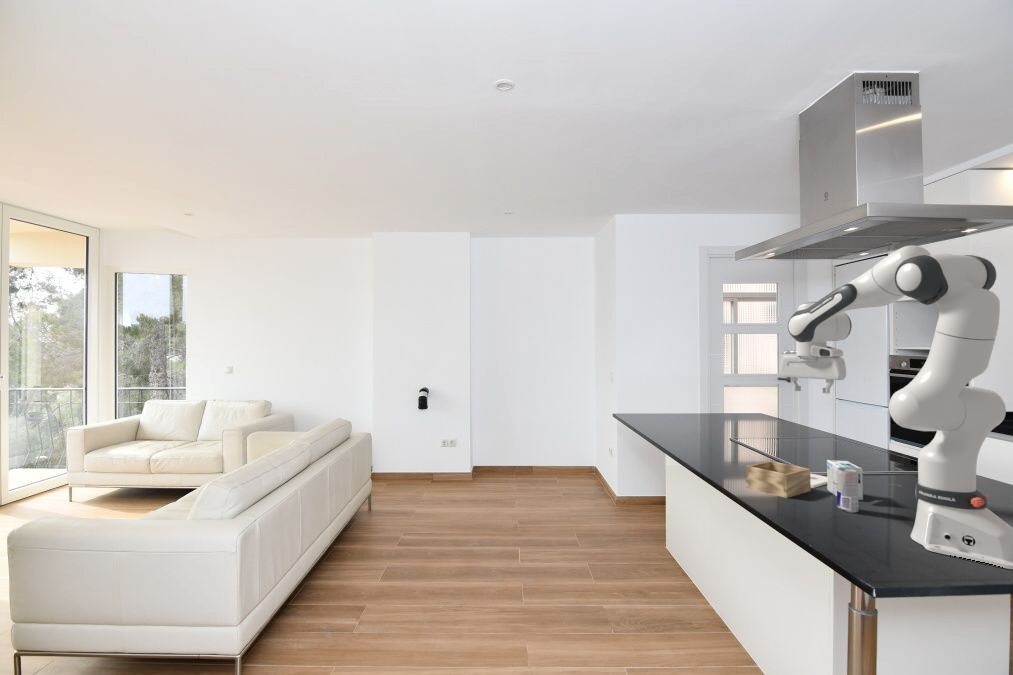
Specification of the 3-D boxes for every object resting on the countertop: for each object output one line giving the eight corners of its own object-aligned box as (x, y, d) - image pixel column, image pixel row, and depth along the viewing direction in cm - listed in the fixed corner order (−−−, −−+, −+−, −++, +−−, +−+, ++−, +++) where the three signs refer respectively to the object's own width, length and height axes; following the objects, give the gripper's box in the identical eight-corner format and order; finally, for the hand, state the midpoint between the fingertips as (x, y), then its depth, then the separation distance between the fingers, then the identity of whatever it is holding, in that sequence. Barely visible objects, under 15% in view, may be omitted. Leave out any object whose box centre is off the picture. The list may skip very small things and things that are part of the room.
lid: (836, 484, 184) (836, 470, 184) (813, 491, 176) (813, 476, 176) (793, 475, 197) (793, 461, 197) (770, 481, 189) (770, 467, 189)
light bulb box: (863, 502, 163) (863, 468, 163) (839, 501, 164) (839, 467, 164) (848, 493, 173) (848, 460, 173) (826, 491, 175) (826, 459, 175)
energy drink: (845, 506, 159) (844, 466, 159) (862, 511, 154) (862, 471, 154) (832, 508, 157) (832, 468, 158) (850, 514, 152) (849, 472, 153)
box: (810, 493, 173) (810, 469, 173) (786, 500, 165) (786, 475, 166) (769, 483, 185) (769, 460, 185) (745, 489, 177) (745, 466, 177)
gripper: (775, 350, 183) (776, 390, 183) (838, 351, 165) (838, 395, 165) (785, 350, 186) (786, 389, 186) (848, 351, 169) (848, 394, 169)
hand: (811, 392), depth 176 cm, fingers open, 8 cm apart
